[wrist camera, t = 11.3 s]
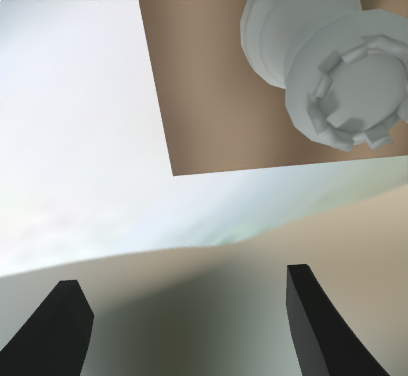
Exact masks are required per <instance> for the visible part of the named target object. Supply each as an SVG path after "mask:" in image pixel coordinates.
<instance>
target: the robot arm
mask: <svg viewBox="0 0 408 376" xmlns="http://www.w3.org/2000/svg"><path fill="white" fill-rule="evenodd" d="M286 307H287V313H288V319H289V325H290V331H291V336H292V339H293V343H294V347H295V350H296V354H297V357H298V361H299V365H300V368H301V372H302V375H303V376H390V375H389V374H388V373H387V372H386V371H385V370H384V369H383V367H381V365H380V364H379V363H378V362H377V361H376V360H375V358H374V357H373V356H372V355H371V354H370V352H369V351H368V350H367V349H366V348H365V347H364V345H363V344H362V343H361V342H360V340H359V339H358V338H357V337H356V335H355V334H354V333H353V331H352V330H351V329H350V327H349V326H348V325H347V324H346V322H345V321H344V319H343V318H342V317H341V315H340V314H339V313H338V311H337V310H336V308H335V307H334V306H333V304H332V303H331V301H330V300H329V298H328V297H327V295H326V294H325V292H324V291H323V289H322V287H321V286H320V284H319V283H318V281H317V279H316V278H315V276H314V274H313V272H312V271H311V269H310V267H309V266H308V265H307V264H298V265H288V266H287V288H286ZM93 319H94V314H93V312H92V310H91V308H90V306H89V304H88V302H87V300H86V298H85V296H84V293H83V292H82V290H81V287H80V285H79V283H78V281H77V280H66V281H59V283H58V284H57V285H56V286H55V287H54V289H53V290H52V291H51V292H50V294H49V295H48V296H47V297H46V298H45V299H44V301H43V302H42V303H41V304H40V306H39V307H38V308H37V309H36V310H35V312H34V313H33V314H32V315H31V317H30V318H29V319H28V320H27V321H26V323H25V324H24V325H23V326H22V327H21V328H20V330H19V331H18V332H17V333H16V334H15V335H14V337H13V338H12V339H11V340H10V341H9V342H8V344H7V345H6V346H5V347H4V348H3V349H2V350H1V351H0V376H80V373H81V370H82V366H83V363H84V360H85V357H86V353H87V350H88V346H89V342H90V337H91V331H92V326H93Z"/></svg>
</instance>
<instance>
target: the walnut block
mask: <svg viewBox="0 0 408 376" xmlns="http://www.w3.org/2000/svg"><path fill="white" fill-rule="evenodd" d="M246 2H247V0H139V4H140V9H141V15H142V20H143V25H144V30H145V35H146V40H147V45H148V50H149V56H150V61H151V66H152V71H153V76H154V81H155V86H156V91H157V96H158V102H159V107H160V112H161V117H162V122H163V127H164V132H165V137H166V143H167V148H168V153H169V158H170V163H171V168H172V173H173V176H179V175H191V174H202V173H213V172H224V171H236V170H247V169H258V168H269V167H280V166H292V165H303V164H314V163H325V162H337V161H348V160H359V159H370V158H382V157H393V156H404V155H408V123H406V122H405V121H403V120H400V121H399V122H398V123H397V124H396V125H394V126H393V127H392V128H391V129H390V130H388V131H387V132H388V133H389V134H390V136H391V138H392V139H393V141H394V142H392V143H389V144H387V145H385V146H382V147H380V148H377V149H375V150H373V151H372V150H371V149H370V147H369V146H368V145H367V143H366V142H364V143H361V144H359V145H353V147H352V150H351V153H350V152H346V151H343V150H339V149H335V148H332V147H331V146H329V145H325V144H321V143H318V142H314V141H311V140H310V139H309V138H308V137H306V136H305V135H304V134H303V133H302V132H300V131H299V130H298V129H297V128H295V127H294V125H293V122H292V120H291V118H290V115H289V113H288V111H287V109H286V106H285V89H283V88H280V87H276V86H273V85H270V84H268V83H267V82H266V81H265V80H264V79H263V78H262V77H260V76H259V75H258V74H257V73H256V72H255V71H254V70H253V68H252V67H251V66H250V64H249V62H248V60H247V57H246V55H245V53H244V51H243V49H242V47H241V32H240V21H241V18H242V15H243V12H244V9H245V5H246ZM360 3H361V7H362V10H363V11H365V10H374V9H383V10H385V11H388V12H391V13H394V14H397V15H400V16H403V17H405V18H407V19H408V0H360Z"/></svg>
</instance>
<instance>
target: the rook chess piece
mask: <svg viewBox="0 0 408 376" xmlns="http://www.w3.org/2000/svg"><path fill="white" fill-rule="evenodd" d="M240 32H241V47H242V49H243V51H244V53H245V55H246V57H247V60H248V62H249V64H250V66H251V67H252V68H253V70H254V71H255V72H256V73H257V74H258V75H259V76H260V77H262V78H263V79H264V80H265V81H266V82H267V83H268V84H270V85H273V86H276V87H280V88H283V89H285V106H286V109H287V111H288V113H289V115H290V118H291V120H292V122H293V125H294V127H295V128H297V129H298V130H299V131H300V132H302V133H303V134H304V135H305V136H306V137H308V138H309V139H310V140H311V141H314V142H318V143H321V144H325V145H329V146H331V147H332V148H335V149H339V150H343V151H346V152H350V153H351V150H352V147H353V145H359V144H361V143H364V142H366V143H367V145H368V146H369V147H370V149H371V150H372V151H373V150H375V149H377V148H380V147H382V146H385V145H387V144H389V143H392V142H394V141H393V139H392V138H391V136H390V134H389V133H388V132H387V131H388V130H390V129H391V128H392V127H393V126H394V125H396V124H397V123H398V122H399V121H400V120H403V121H405V122H406V123H408V19H407V18H405V17H403V16H400V15H397V14H394V13H391V12H388V11H385V10H383V9H374V10H365V11H363V10H362V7H361V3H360V0H247V2H246V5H245V9H244V12H243V15H242V18H241V21H240Z"/></svg>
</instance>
